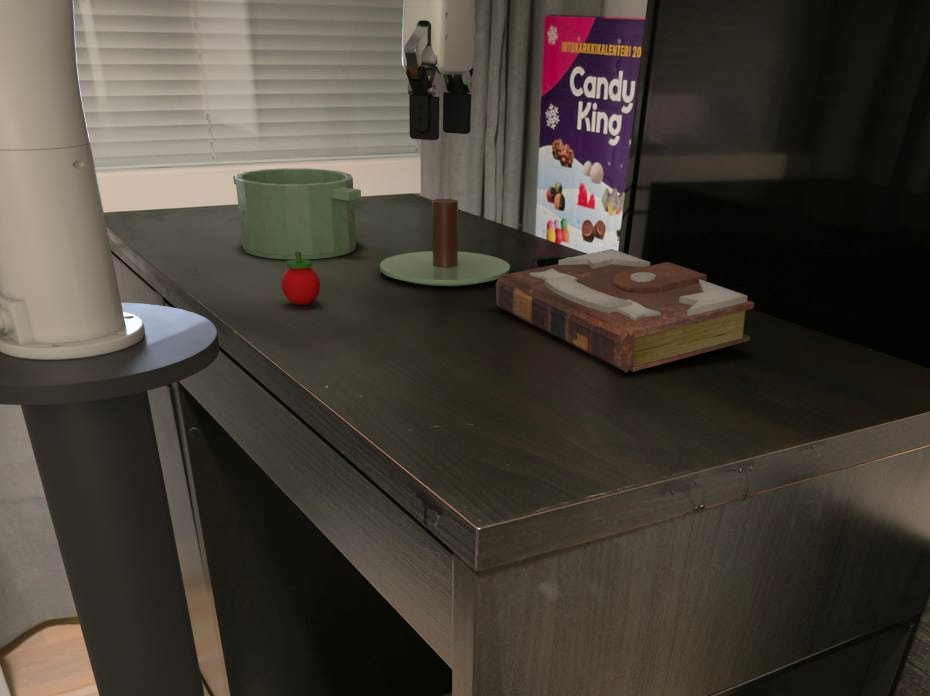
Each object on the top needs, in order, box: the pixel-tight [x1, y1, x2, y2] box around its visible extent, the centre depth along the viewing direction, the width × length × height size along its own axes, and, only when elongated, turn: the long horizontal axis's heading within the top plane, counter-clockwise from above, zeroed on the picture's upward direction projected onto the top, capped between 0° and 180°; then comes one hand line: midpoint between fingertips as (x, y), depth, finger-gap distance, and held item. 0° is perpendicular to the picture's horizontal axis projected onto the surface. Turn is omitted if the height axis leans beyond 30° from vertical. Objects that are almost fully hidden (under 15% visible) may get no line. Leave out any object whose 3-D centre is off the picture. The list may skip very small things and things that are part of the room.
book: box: [495, 248, 755, 374], centre depth 90 cm, size 23×16×5 cm
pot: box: [232, 167, 362, 261], centre depth 119 cm, size 15×20×8 cm
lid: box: [379, 198, 511, 287], centre depth 108 cm, size 16×16×8 cm
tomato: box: [281, 251, 321, 306], centre depth 96 cm, size 4×4×5 cm
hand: (441, 136), depth 102 cm, fingers open, 9 cm apart
